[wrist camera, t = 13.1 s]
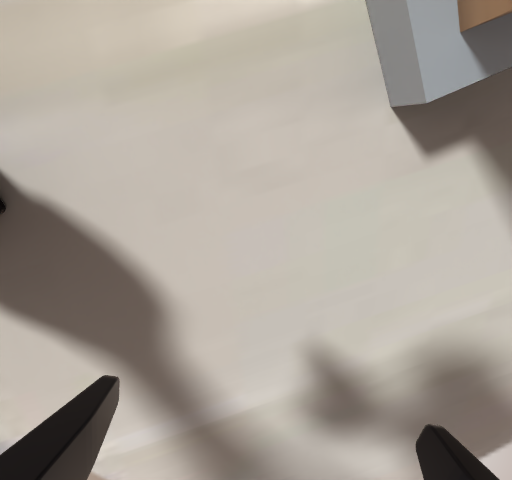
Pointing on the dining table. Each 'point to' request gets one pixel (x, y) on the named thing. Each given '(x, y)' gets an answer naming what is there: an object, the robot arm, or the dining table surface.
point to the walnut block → (481, 11)
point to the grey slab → (435, 48)
